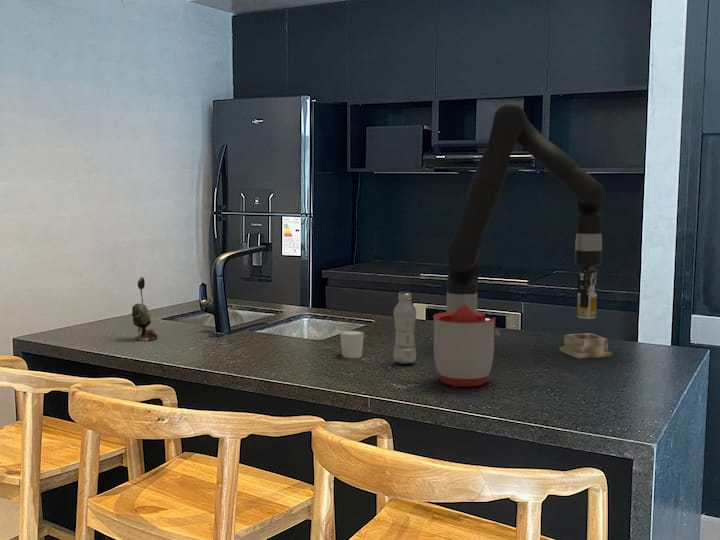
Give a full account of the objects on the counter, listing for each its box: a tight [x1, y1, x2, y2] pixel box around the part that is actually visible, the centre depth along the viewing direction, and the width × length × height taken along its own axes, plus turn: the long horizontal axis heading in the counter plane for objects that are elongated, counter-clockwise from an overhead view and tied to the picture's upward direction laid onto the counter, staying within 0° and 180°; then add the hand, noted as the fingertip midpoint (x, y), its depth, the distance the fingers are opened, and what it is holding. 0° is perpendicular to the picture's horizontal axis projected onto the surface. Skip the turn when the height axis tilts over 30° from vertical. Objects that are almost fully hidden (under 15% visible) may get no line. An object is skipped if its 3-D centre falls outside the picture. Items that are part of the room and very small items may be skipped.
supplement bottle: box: [576, 285, 598, 320], centre depth 226 cm, size 5×5×10 cm
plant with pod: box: [131, 276, 159, 342], centre depth 248 cm, size 8×11×20 cm
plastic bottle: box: [392, 291, 417, 365], centre depth 213 cm, size 6×7×20 cm
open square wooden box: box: [558, 332, 613, 359], centre depth 227 cm, size 11×11×5 cm
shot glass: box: [339, 330, 364, 359], centre depth 223 cm, size 7×7×7 cm
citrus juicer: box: [432, 304, 501, 388], centre depth 193 cm, size 16×17×20 cm
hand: (586, 305), depth 226 cm, fingers closed on supplement bottle, 5 cm apart
